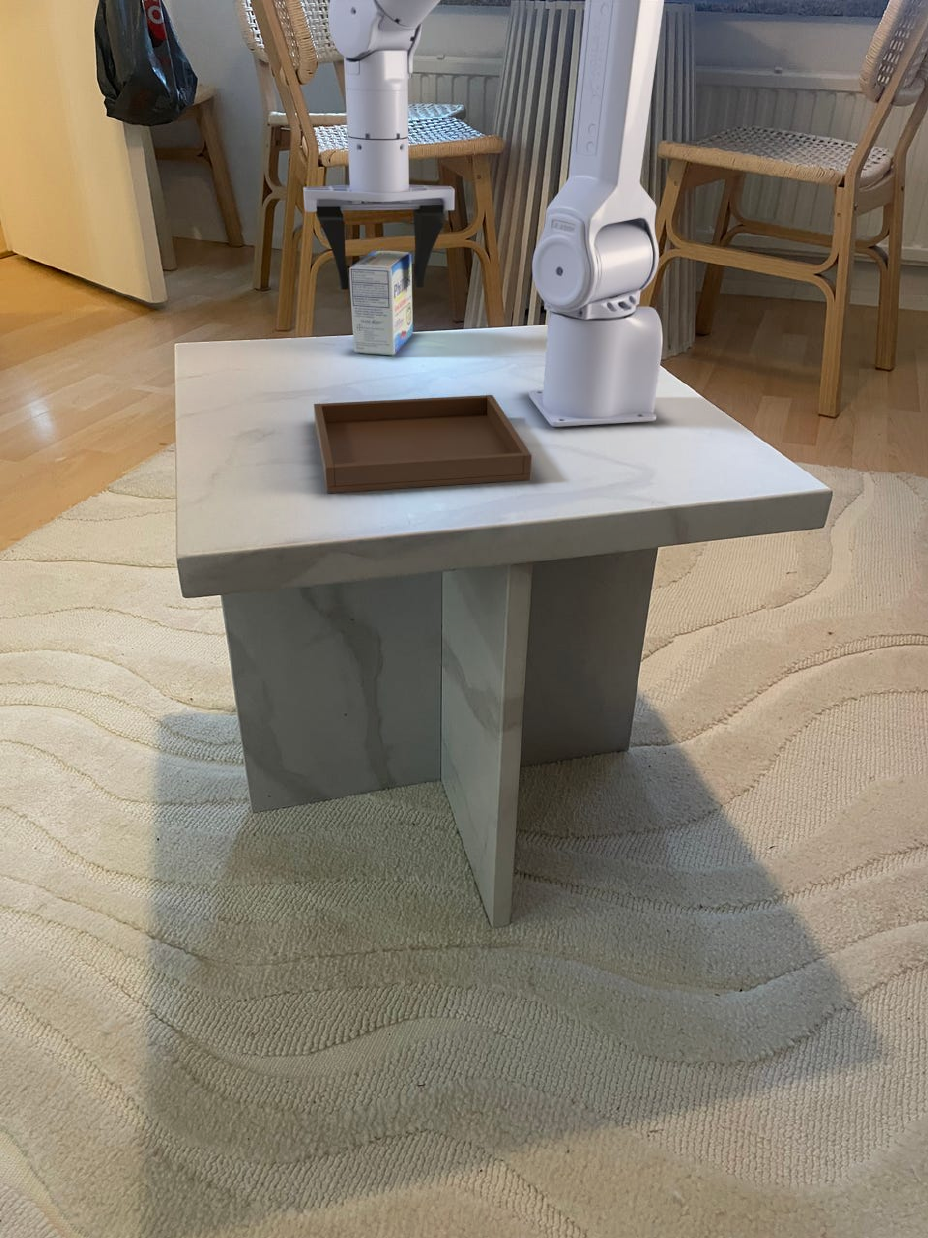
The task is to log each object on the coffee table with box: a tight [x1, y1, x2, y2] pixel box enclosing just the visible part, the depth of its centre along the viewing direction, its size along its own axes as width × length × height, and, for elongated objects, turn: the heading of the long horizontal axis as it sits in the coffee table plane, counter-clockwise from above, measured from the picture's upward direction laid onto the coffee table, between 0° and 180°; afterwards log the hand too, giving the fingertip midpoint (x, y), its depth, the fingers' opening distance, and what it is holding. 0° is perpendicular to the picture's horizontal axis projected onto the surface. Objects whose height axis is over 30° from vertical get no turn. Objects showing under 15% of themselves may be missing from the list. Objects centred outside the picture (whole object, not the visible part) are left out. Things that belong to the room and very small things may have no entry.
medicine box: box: [348, 250, 414, 357], centre depth 94 cm, size 8×4×9 cm, turn 168°
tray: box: [313, 394, 533, 494], centre depth 72 cm, size 15×13×2 cm
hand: (382, 286), depth 93 cm, fingers open, 7 cm apart
